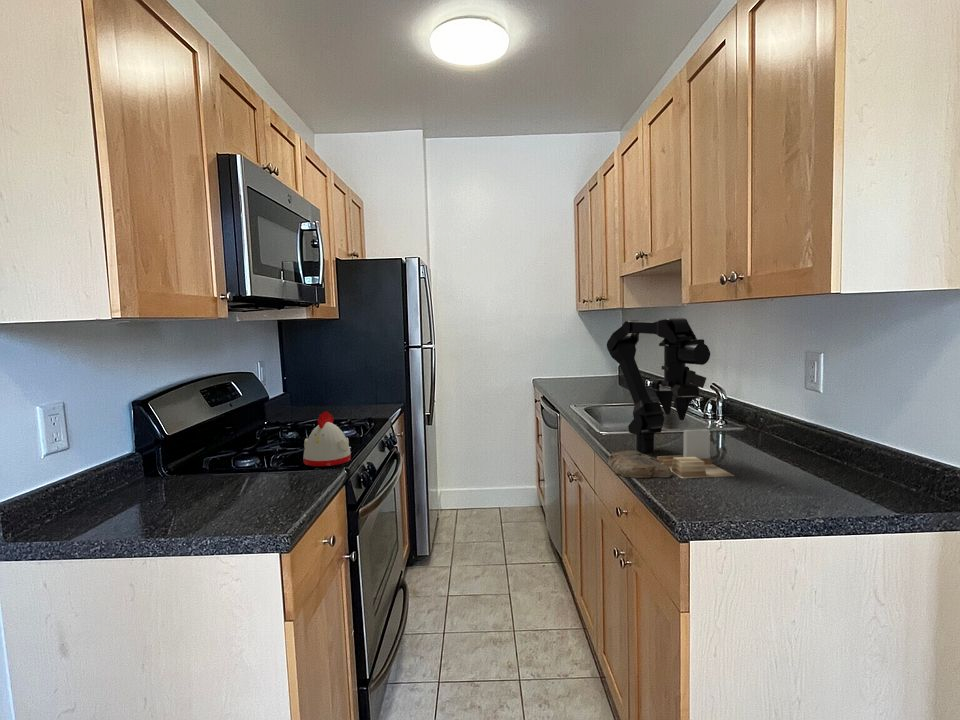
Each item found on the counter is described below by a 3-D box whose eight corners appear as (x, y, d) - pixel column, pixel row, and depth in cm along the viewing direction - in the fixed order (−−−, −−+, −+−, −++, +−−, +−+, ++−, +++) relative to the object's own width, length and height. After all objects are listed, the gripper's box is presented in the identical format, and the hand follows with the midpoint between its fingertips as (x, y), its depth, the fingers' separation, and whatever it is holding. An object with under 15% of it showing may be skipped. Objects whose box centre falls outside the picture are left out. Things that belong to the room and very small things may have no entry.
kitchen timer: (294, 465, 162) (292, 415, 161) (318, 454, 175) (316, 408, 174) (337, 467, 159) (335, 416, 158) (358, 455, 172) (356, 408, 171)
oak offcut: (672, 466, 145) (672, 461, 144) (694, 465, 145) (694, 460, 145) (681, 472, 139) (681, 467, 139) (705, 471, 139) (705, 466, 139)
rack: (653, 463, 156) (653, 455, 156) (701, 461, 157) (701, 453, 157) (681, 481, 138) (681, 472, 138) (735, 478, 139) (735, 470, 139)
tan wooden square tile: (671, 470, 145) (671, 466, 145) (694, 469, 145) (694, 465, 145) (681, 476, 139) (681, 472, 139) (705, 475, 139) (705, 471, 139)
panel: (683, 461, 153) (683, 429, 153) (706, 460, 154) (706, 429, 153) (686, 463, 151) (686, 431, 151) (709, 462, 152) (709, 430, 151)
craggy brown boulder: (600, 462, 159) (619, 481, 139) (600, 446, 158) (619, 462, 138) (648, 462, 159) (674, 481, 139) (648, 446, 159) (674, 462, 139)
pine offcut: (672, 462, 144) (672, 457, 144) (694, 461, 145) (694, 456, 145) (681, 467, 139) (681, 462, 139) (704, 466, 140) (704, 461, 139)
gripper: (719, 364, 146) (718, 422, 147) (687, 359, 164) (687, 411, 165) (678, 365, 145) (678, 423, 146) (651, 360, 163) (651, 412, 164)
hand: (674, 417), depth 155 cm, fingers open, 9 cm apart
